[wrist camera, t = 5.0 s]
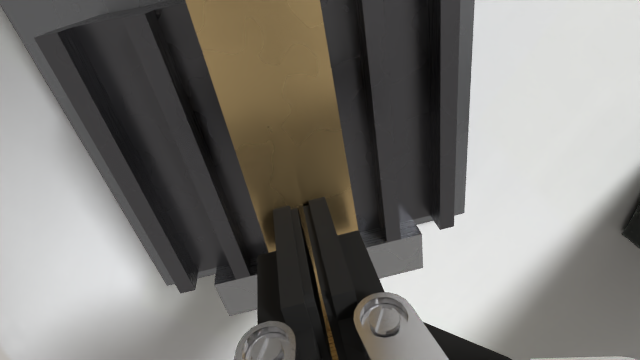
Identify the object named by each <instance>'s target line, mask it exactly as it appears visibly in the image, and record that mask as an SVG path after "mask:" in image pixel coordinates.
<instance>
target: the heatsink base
mask: <svg viewBox="0 0 640 360" xmlns="http://www.w3.org/2000/svg"><path fill="white" fill-rule="evenodd" d="M320 4H321V10H322V16H323V22H324V28H325V34H326V40H327V46H328V52H329V58H330V64H331V70H332V76H333V82H334V88H335V94H336V100H337V106H338V112H339V118H340V124H341V130H342V136H343V142H344V148H345V154H346V160H347V166H348V172H349V178H350V184H351V190H352V196H353V202H354V208H355V214H356V219H357V225H358V231H359V232H360V234H361V237H362V239H363V242H364V244H365V246H366V249H367V251H368V254H369V256H370V258H371V261H372V263H373V266H374V268H375V270H376V273H377V275H378V278H379V279H380V278H384V277H388V276H392V275H396V274H400V273H404V272H408V271H412V270H416V269H420V268H423V257H422V234H421V232H420V231H419V229H418V227H417V226H416V225H417V224H421V223H425V222H430V221H434V222H435V223H436V224H437V226H438V227H439V229H440V230H441V229H445V228H449V227H453V226H454V215H458V214H462V213H464V207H465V186H466V166H467V145H468V124H469V103H470V83H471V62H472V41H473V21H474V0H320ZM0 5H1V6H2V8H3V10H4V11H5V13H6V15H7V17H8V18H9V20H10V22H11V23H12V25H13V27H14V28H15V30H16V32H17V33H18V35H19V37H20V38H21V40H22V42H23V43H24V45H25V47H26V49H27V50H28V52H29V54H30V55H31V57H32V59H33V60H34V62H35V64H36V65H37V67H38V69H39V70H40V72H41V74H42V75H43V77H44V79H45V81H46V82H47V84H48V86H49V87H50V89H51V91H52V92H53V94H54V96H55V97H56V99H57V101H58V102H59V104H60V106H61V108H62V109H63V111H64V113H65V114H66V116H67V118H68V119H69V121H70V123H71V124H72V126H73V128H74V129H75V131H76V133H77V134H78V136H79V138H80V140H81V141H82V143H83V145H84V146H85V148H86V150H87V151H88V153H89V155H90V156H91V158H92V160H93V161H94V163H95V165H96V166H97V168H98V170H99V172H100V173H101V175H102V177H103V178H104V180H105V182H106V183H107V185H108V187H109V188H110V190H111V192H112V193H113V195H114V197H115V198H116V200H117V202H118V204H119V205H120V207H121V209H122V210H123V212H124V214H125V215H126V217H127V219H128V220H129V222H130V224H131V225H132V227H133V229H134V230H135V232H136V234H137V236H138V237H139V239H140V241H141V242H142V244H143V246H144V247H145V249H146V251H147V252H148V254H149V256H150V257H151V259H152V261H153V263H154V264H155V266H156V268H157V269H158V271H159V273H160V274H161V276H162V278H163V279H164V281H165V283H166V284H167V286H168V285H172V284H175V285H176V286H177V288H178V290H179V292H180V293H184V292H188V291H192V290H195V288H196V282H197V278H201V277H205V276H209V275H213V274H216V276H215V287H216V289H217V291H218V293H219V295H220V298H221V300H222V302H223V304H224V306H225V308H226V310H227V312H228V314H229V316H231V315H235V314H239V313H243V312H247V311H251V310H255V309H257V257H258V255H261V254H265V253H269V252H268V249H267V246H266V243H265V240H264V237H263V234H262V230H261V227H260V224H259V221H258V218H257V215H256V212H255V209H254V206H253V203H252V200H251V197H250V194H249V191H248V188H247V185H246V182H245V179H244V176H243V173H242V170H241V167H240V164H239V161H238V158H237V155H236V152H235V149H234V146H233V143H232V140H231V137H230V134H229V131H228V128H227V125H226V122H225V119H224V116H223V113H222V110H221V107H220V104H219V101H218V98H217V95H216V92H215V89H214V86H213V83H212V80H211V76H210V73H209V70H208V67H207V64H206V61H205V58H204V55H203V52H202V49H201V46H200V43H199V40H198V37H197V34H196V31H195V28H194V25H193V22H192V19H191V16H190V13H189V10H188V7H187V4H186V1H185V0H0Z"/></svg>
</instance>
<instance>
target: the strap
mask: <svg viewBox="0 0 640 360" xmlns="http://www.w3.org/2000/svg"><path fill="white" fill-rule="evenodd" d="M185 1H186V4H187V7H188V10H189V13H190V16H191V19H192V22H193V25H194V28H195V31H196V34H197V37H198V40H199V43H200V46H201V49H202V52H203V55H204V58H205V61H206V64H207V67H208V70H209V73H210V76H211V80H212V83H213V86H214V89H215V92H216V95H217V98H218V101H219V104H220V107H221V110H222V113H223V116H224V119H225V122H226V125H227V128H228V131H229V134H230V137H231V140H232V143H233V146H234V149H235V152H236V155H237V158H238V161H239V164H240V167H241V170H242V173H243V176H244V179H245V182H246V185H247V188H248V191H249V194H250V197H251V200H252V203H253V206H254V209H255V212H256V215H257V218H258V221H259V224H260V227H261V230H262V234H263V237H264V240H265V243H266V246H267V249H268V252H273V251H276V244H275V231H274V219H273V209H276V208H280V207H284V206H288V205H290V207H291V209H295V208H297V209H298V212H299V216H300V220H301V224H302V227H303V231H304V235H305V239H306V242H307V246H308V250H309V254H310V258H311V261H312V265H313V269H314V273H315V277H316V282H317V287H318V292H319V297H320V301H321V306H322V311H323V316H324V321H325V326H326V331H327V336H328V340H329V345H330V350H331V355H332V360H339V359H338V355H337V352H336V348H335V344H334V340H333V337H332V333H331V329H330V325H329V321H328V318H327V314H326V310H325V306H324V302H323V298H322V294H321V289H320V285H319V280H318V275H317V271H316V266H315V261H314V257H313V252H312V247H311V242H310V238H309V233H308V228H307V224H306V219H305V214H304V210H303V206H307V205H309V201H308V200H313V199H317V198H321V197H325V199H326V202H327V205H328V208H329V211H330V214H331V217H332V220H333V224H334V227H335V230H336V233H337V235H341V234H345V233H349V232H353V231H357V230H358V225H357V219H356V214H355V208H354V202H353V196H352V190H351V184H350V178H349V172H348V166H347V160H346V154H345V148H344V142H343V136H342V130H341V124H340V118H339V112H338V106H337V100H336V94H335V88H334V82H333V76H332V70H331V64H330V58H329V52H328V46H327V40H326V34H325V28H324V22H323V16H322V10H321V4H320V0H185Z"/></svg>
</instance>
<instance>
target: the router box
mask: <svg viewBox="0 0 640 360" xmlns="http://www.w3.org/2000/svg"><path fill="white" fill-rule="evenodd" d="M638 211H639V212H638ZM622 235H623V236H625V237H626V238H627V239H629V240H630V241H631V242H632V243H634V244H635V245H636V246H637V247H639V248H640V204H639V206H638V207H637V209H636V211H635V213H634V215H633V217H632V219H631V220H630V222H629V224H628V226H627V227H626V228H625V229H624V230H623V232H622Z"/></svg>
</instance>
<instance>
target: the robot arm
mask: <svg viewBox="0 0 640 360" xmlns="http://www.w3.org/2000/svg"><path fill="white" fill-rule="evenodd" d="M308 201H309V205H307V206H303V210H304V214H305V219H306V224H307V228H308V233H309V238H310V242H311V247H312V252H313V257H314V261H315V266H316V271H317V275H318V280H319V285H320V289H321V294H322V298H323V302H324V306H325V310H326V314H327V318H328V321H329V325H330V329H331V333H332V337H333V340H334V344H335V348H336V352H337V355H338V359H339V360H512V359H510V358H508V357H506V356H504V355H501V354H499V353H496V352H494V351H492V350H489V349H487V348H484V347H482V346H480V345H477V344H475V343H472V342H470V341H467V340H465V339H463V338H460V337H458V336H455V335H453V334H451V333H448V332H446V331H443V330H441V329H439V328H436V327H434V326H431V325H429V324H427V323H424V322H422V320H421V319H420V317H419V316H418V314H417V313H416V312H415V310H414V309H413V307H412V306H411V305H410V304H409V303H408V302H407V300H406V299H404V298H402V297H401V296H399V295H397V294H393V293H389V292H384V290H383V287H382V285H381V283H380V280H379V278H378V275H377V273H376V270H375V268H374V266H373V263H372V261H371V258H370V256H369V254H368V251H367V249H366V246H365V244H364V242H363V239H362V237H361V234H360V232H359V231H358V230H357V231H353V232H349V233H345V234H341V235H337V233H336V230H335V227H334V224H333V220H332V217H331V214H330V211H329V208H328V205H327V202H326V199H325V197H321V198H317V199H313V200H308ZM273 219H274V231H275V244H276V251H273V252H269V253H265V254H261V255H258V257H257V309H258V325H256V326H254V327H253V328H251V329H250V330H249V331H248V332H247V333H245V334H244V336H243V337H242V339H241V340H240V341H239V343H238V346H237V349H236V352H235V357H234V360H332V355H331V350H330V345H329V340H328V336H327V331H326V326H325V321H324V316H323V311H322V306H321V301H320V297H319V292H318V287H317V282H316V277H315V273H314V269H313V265H312V261H311V258H310V254H309V250H308V246H307V242H306V239H305V235H304V231H303V227H302V224H301V220H300V216H299V212H298V209H297V208H295V209H291V207H290V205H288V206H284V207H280V208H276V209H273ZM530 360H636V359H634V358H629V357H621V356H608V357H573V358H538V359H530Z"/></svg>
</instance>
